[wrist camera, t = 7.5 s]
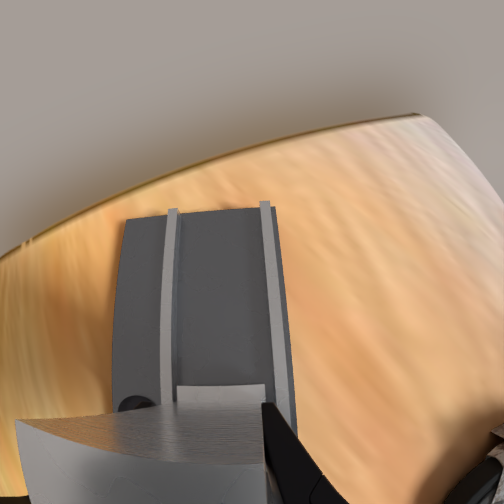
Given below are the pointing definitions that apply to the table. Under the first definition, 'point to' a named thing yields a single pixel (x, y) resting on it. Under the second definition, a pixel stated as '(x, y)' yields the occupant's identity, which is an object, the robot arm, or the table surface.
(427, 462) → the table surface
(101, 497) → the block
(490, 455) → the caster wheel
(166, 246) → the rail
